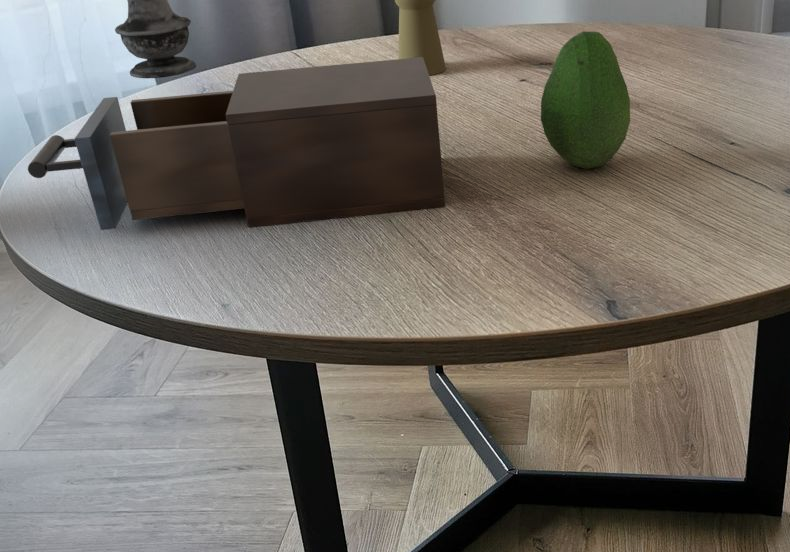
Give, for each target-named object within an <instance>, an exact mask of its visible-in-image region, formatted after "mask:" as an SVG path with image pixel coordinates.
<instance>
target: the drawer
mask: <svg viewBox="0 0 790 552" xmlns="http://www.w3.org/2000/svg"><path fill="white" fill-rule="evenodd" d="M232 93H233V90H226V91H225V90H223V91H214V92H203V93H191V94H181V95H171V96H160V97H151V98H148V97H147V98H139V99H132V100H131V101H130V106H131V110H132V115H133V119H134V122H135V127H136V129H130V130H127V128H126V125H125V121H124V117H123V113H122V109H121V105H120V102H119V98H118V96H111V97H104V98H103V99H102V100H101V101H100V102H99V104H97V107H96V108H95V109H94V111H93V112H92V113H91V115H90V117H88V119H87V121H86V122H85V123H84V125H83V126H82V127H81V129H80V130H79V131H78V132H77V134H76V136H75V137H74V138H66V139H65V138H64V137H63V136H61V135H59V134H53V135H52V136H50V137H49V139H48V140H47V141H46V142H45V144H44V145H43V147H42V148H41V149H40V150H39V151H38V153H36V155H35V156H34V158H33V159H31V161H30V163H29V164H28V166H27V172H28V173H29V175H30V176H31V177H33V178H36V179H42V178H44V177H46V175H47V173H48V172H57V171H58V172H59V171H68V170H81V169H82V170H83V174H84V177H85V181H86V184H87V188H88V192H89V196H90V198H91V201H92V206H93V208H94V212H95V215H96V219H97V223H98V226H99V229H100V231H105V230H115V229H116V228H117V226H118V224H119V222H120V220H121V217H122V216H123V214H124V212H125V209H126V208H127V206H128V210H129V212H130V216H131V219H132V221H136V220H147V219H156V218H157V219H158V218H165V217H166V218H167V217H174V216H175V217H176V216H184V215H185V216H186V215H195V214H204V213H213V212H222V211H223V212H225V211H232V210H233V211H234V210H242V209H244V204H243V199H242V194H241V189H240V184H239V179H238V174H237V169H236V164H235V159H234V154H233V149H232V144H231V140H230V135H229V130H228V124H227V120H226V112H227V109H228V106H229V103H230V100H231V96H232ZM68 148H76V150H77V153H78V156H79V159H72V160H62V161H57V160H58V158H59V157H60V155H61V154H62V153H63V152H64V150H65V149H68Z"/></svg>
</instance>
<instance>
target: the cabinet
mask: <svg viewBox="0 0 790 552" xmlns="http://www.w3.org/2000/svg"><path fill="white" fill-rule="evenodd" d="M430 77H431V76H429V74H428V71H427V68H426V65H425V62H424V59H423V57H418V58H407V59H398V58H397V59H388V60H387V59H386V60H377V61H364V62H352V63H341V64H329V65H320V66H319V65H318V66H309V67H299V68H298V67H297V68H287V69H286V68H285V69H276V70H265V71H264V70H263V71H256V72H255V71H254V72H242V73H238V74H237V77H236V81H235V84H234V87H233V90H232V91H233V93H232V96H231V100H230V103H229V106H228V109H227V112H226V120H227V124H228V130H229V135H230V140H231V144H232V149H233V154H234V159H235V164H236V169H237V174H238V179H239V184H240V189H241V194H242V199H243V204H244V208H243V209H244V214H245V217H246V223H247V227H248V228H255V227H256V228H257V227H265V226H273V225H284V224H292V223H294V224H295V223H303V222H311V221H322V220H331V219H340V218H349V217H359V216H367V215H377V214H385V213H396V212H405V211H413V210H414V211H415V210H422V209H425V210H426V209H433V208H443V207H444V208H445V207H446V198H445V186H444V184H445V183H444V175H443V174H444V173H443V161H442V153H441V152H442V150H441V138H440V127H439V115H438V107H437V105H438V103H437V95H436V92H435V90H434V87H433V83H432V80H431V78H430Z"/></svg>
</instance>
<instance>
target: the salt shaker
mask: <svg viewBox="0 0 790 552" xmlns="http://www.w3.org/2000/svg"><path fill="white" fill-rule="evenodd" d="M191 23H192V20H191V19H189V18H188V17H186V16H180V15H178V14H177V13H175V12H174V11H173V9H172V7H171V5H170V3H169V1H168V0H127V18H126V19H125V21H124V22H123V23H121V24H119V25H117V26H116V27H115V28H114V32H115V33H116V34H117V35H120V40H121V43H122V44H123V45H124V47H125V48H126V50H127V51H128V52H129V53H130V54H132V55H133V56H134V57H136V58H138V59H143V61H140V62H138V63H136V64H135V65H134V66H133V67H132V68H131V69H130V71H129V75H130V77H133V78H137V79H162V78H168V77H175V76H179V75H183V74H185V73H189V72H190V71H193V70H194V69H195V68H196V67H197V63H196V62H195V61H194V60H191V59H189V58H188V57H185V56H177V55H178V54H181V53H182V52H184V49H185V48H186V47H187V45H188V42H189V36H190V31H189V26H190V25H191Z"/></svg>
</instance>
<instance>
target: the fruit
mask: <svg viewBox="0 0 790 552" xmlns="http://www.w3.org/2000/svg"><path fill="white" fill-rule="evenodd" d="M630 98H631V97H630V94H629V91H628V86H627V83H626V81H625V78H624V75H623V73H622V71H621V67H620V64H619V62H618V58H617V55H616V53H615V51H614V49H613V46H612V44H611V43H610V41H608V40H607V39H606V38H605V36H604V35H602V33H600V32H599V31H585V30H583V31H579V32H578V33H577V34H576V35H574V36H572V37H570V38H569V39H568V40H567V42H565V44H564V45H562V47H561V49H560V51H559V53H558V55H557V57H556V58H555V60H554V64H553V67H552V70H551V72H550V74H549V76H548V79H547V81H546V82H545V84H544V88H543V92H542V96H541V99H540V104H541V105H540V121H541V126H542V129H543V133H544V135H545V138H546V139H547V142H548V143H549V145H550V147H551V148H552V149H553V150H554V151H555V152H556V153H557V154H558V155H559V156H560V157H561V158H562V159H563V160H564V161H567V162H568V163H569V164H571V165H572V166H574V167H579V168H582V169H586V170H588V169H594V168H595V169H596V168H599V167H600V168H601V167H602V166H604V165H605V164H607V163H608V162H609V161H611V160H612V159H613V158H614V157H615V155H616V153H617V152H618V151H619V150H620V148H621V147H622V145H623V144H624V142H625V140H626V137H627V134H628V131H629V127H630V123H631V99H630Z"/></svg>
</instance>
